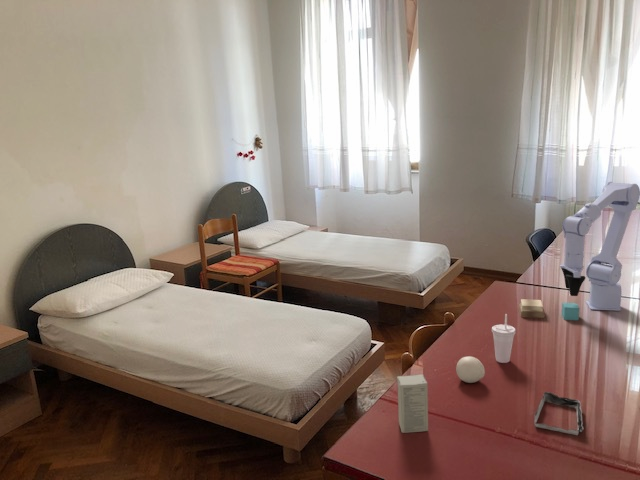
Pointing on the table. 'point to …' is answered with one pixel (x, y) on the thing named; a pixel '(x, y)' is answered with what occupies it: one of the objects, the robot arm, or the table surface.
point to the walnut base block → (531, 313)
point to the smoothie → (503, 341)
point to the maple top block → (531, 305)
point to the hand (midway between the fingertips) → (571, 291)
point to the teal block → (570, 311)
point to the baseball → (470, 369)
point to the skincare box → (412, 403)
